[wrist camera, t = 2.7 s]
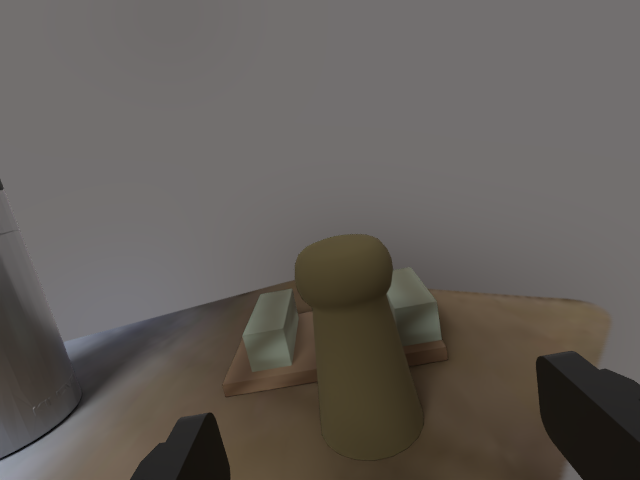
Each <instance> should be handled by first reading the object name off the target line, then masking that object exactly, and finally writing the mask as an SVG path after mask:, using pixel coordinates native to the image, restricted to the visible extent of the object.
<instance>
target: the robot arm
mask: <svg viewBox="0 0 640 480" xmlns="http://www.w3.org/2000/svg"><path fill="white" fill-rule="evenodd" d="M536 371H537V382H538V393H539V405H540V414H541V418H542V422H543V425H544V427H545V430H546V432H547V434H548V435H549V437H550V439H551V440H552V442H553V443H554V444H555V446H556V447H557V448H558V449H559V451H560V452H561V453H562V454H563V456H564V457H565V458H566V459H567V460H568V462H569V463H570V464H571V465H572V467H573V468H574V469H575V470H576V472H577V473H578V474H579V475H580V477H581V478H582V479H583V480H640V385H639V384H638V383H637V382H635V381H634V380H631V379H629V378H627V377H624V376H622V375H620V374H617V373H615V372H612V371H610V370H607V369H601V370H599V369H597V368H596V367H595V366H593V365H592V364H591V363H590V362H588V361H587V360H586V359H584V358H583V357H582V356H580V355H579V354H578V353H576V352H574V351H568V352H562V353H556V354H551V355H545V356H539V357H538V358H537V361H536ZM81 395H82V391H81V388H80V386H79V383H78V381H77V378H76V375H75V373H74V370H73V367H72V365H71V362H70V359H69V357H68V354H67V352H66V348H65V346H64V343H63V340H62V338H61V335H60V333H59V330H58V328H57V325H56V322H55V320H54V317H53V314H52V312H51V309H50V307H49V304H48V301H47V300H46V296H45V294H44V291H43V288H42V286H41V283H40V281H39V278H38V275H37V273H36V270H35V268H34V265H33V262H32V260H31V257H30V255H29V252H28V249H27V247H26V244H25V242H24V239H23V236H22V234H21V231H20V230H19V227H18V224H17V221H16V219H15V216H14V214H13V211H12V209H11V206H10V203H9V201H8V198H7V195H6V193H5V191H3V185H2V183H1V181H0V458H2V457H4V456H6V455H8V454H10V453H12V452H14V451H16V450H18V449H20V448H22V447H23V446H25V445H27V444H29V443H31V442H32V441H34V440H35V439H37V438H39V437H40V436H42V435H43V434H45V433H46V432H48V431H49V430H50V429H52V428H53V427H54V426H56V425H57V424H58V423H60V422H61V421H62V420H63V419H64V418H65V417H66V416H67V415H69V414H70V413H71V412H72V410H73V409H74V408H75V407H76V406H77V404H78V403H79V401H80V399H81ZM130 480H230V466H229V462H228V458H227V455H226V452H225V448H224V445H223V442H222V438H221V435H220V432H219V428H218V425H217V422H216V419H215V416H214V415H213V414H212V413H204V414H199V415H193V416H187V417H181V418H180V419H179V420H178V421H177V423H176V424H175V426H174V428H173V430H172V432H171V433H170V435H169V437H168V439H167V440H166V442H165V443H159V444H158V445H157V446H156V447H155V448H154V449H153V450H152V451H151V452H150V453H149V454H148V455H147V456H146V457H145V458H144V459H143V460H142V461H141V462H140V464H139V466H138V467H137V469H136V471H135V472H134V474H133V476H132V477H131V479H130Z"/></svg>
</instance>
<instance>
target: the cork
mask: <svg viewBox="0 0 640 480" xmlns="http://www.w3.org/2000/svg"><path fill="white" fill-rule="evenodd" d="M392 273H393V266H392V260H391V257H390V254H389V252H388V250H387V248H386V247H385V246H384V245H383V244H382V242H381V241H380V240H379V239H378V238H375V237H372V236H369V235H362V234H352V235H351V234H350V235H340V236H334V237H330V238H327V239H323V240H321V241H318V242H316V243H313V244H311V245H309V246H307V247H306V248H305V249H304V250H303V251H302V252H301V253H300V254H299V255H298V257H297V260H296V263H295V282H296V286H297V290H298V292H299V293H300V295H301V297H302V299H303V300H304V301H305V302H306V303H307V304H309V305H310V306H311V307H312V314H313V327H314V340H315V353H316V367H317V380H318V393H319V406H320V420H321V430H322V436H323V438H324V440H325V441H326V443H327V445H328V446H329V447H330V448H332V449H333V450H334V451H336V452H337V453H338V454H340V455H343V456H346V457H349V458H352V459H355V460H379V459H383V458H387V457H392V456H394V455H396V454H398V453H400V452H401V451H403V450H405V449H407V448H408V447H409V446H410V445H411V444H412V443H413V442H414V441H415V440H416V439H417V438H418V437H419V435H420V432H421V430H422V428H423V425H424V422H423V411H422V408H421V404H420V401H419V398H418V395H417V391H416V388H415V385H414V382H413V379H412V375H411V372H410V369H409V366H408V362H407V359H406V356H405V353H404V350H403V346H402V343H401V340H400V337H399V333H398V330H397V327H396V324H395V321H394V317H393V314H392V311H391V308H390V304H389V301H388V298H387V295H386V294H387V292H388V290H389V288H390V287H391V282H392Z"/></svg>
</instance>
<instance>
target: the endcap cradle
mask: <svg viewBox="0 0 640 480" xmlns="http://www.w3.org/2000/svg"><path fill="white" fill-rule="evenodd" d="M386 295H387V298H388V301H389V304H390V308H391V311H392V314H393V317H394V321H395V324H396V327H397V330H398V333H399V337H400V340H401V343H402V346H403V350H404V353H405V356H406V359H407V362H408V366H413V365H419V364H425V363H431V362H437V361H443V360H448V356H447V349H446V346H445V344H444V343H443V341H442V338H441V330H440V322H439V315H438V307H437V301H436V300H435V298H434V297H433V296H432V295H431V293H430V292H429V291H428V289H427V288H426V287H425V285H424V284H423V283H422V282H421V280H420V279H419V278H418V277H417V275H416V274H415V273H414V271H413V270H412V269H411V267H409V268H403V269H398V270H393V273H392V282H391V287H390V288H389V290H388V292H387V294H386ZM242 336H243V338H242V340H241V343H240V345H239V347H238V350H237V352H236V354H235V357H234V359H233V361H232V363H231V366H230V368H229V370H228V373H227V375H226V377H225V380H224V382H223V384H222V386H223V389H224V393H225V396H226V397H228V396H234V395H240V394H246V393H252V392H258V391H264V390H270V389H276V388H282V387H288V386H294V385H300V384H306V383H312V382H318V380H317V367H316V353H315V340H314V327H313V314H312V312H306V313H300V314H298V312H297V308H296V303H295V299H294V294H293V290H292V289H287V290H282V291H276V292H271V293H265V294H261V295H260V297H259V299H258V301H257V304H256V306H255V308H254V310H253V313H252V315H251V317H250V319H249V322H248V324H247V326H246V329H245V331H244V333H243V335H242Z"/></svg>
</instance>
